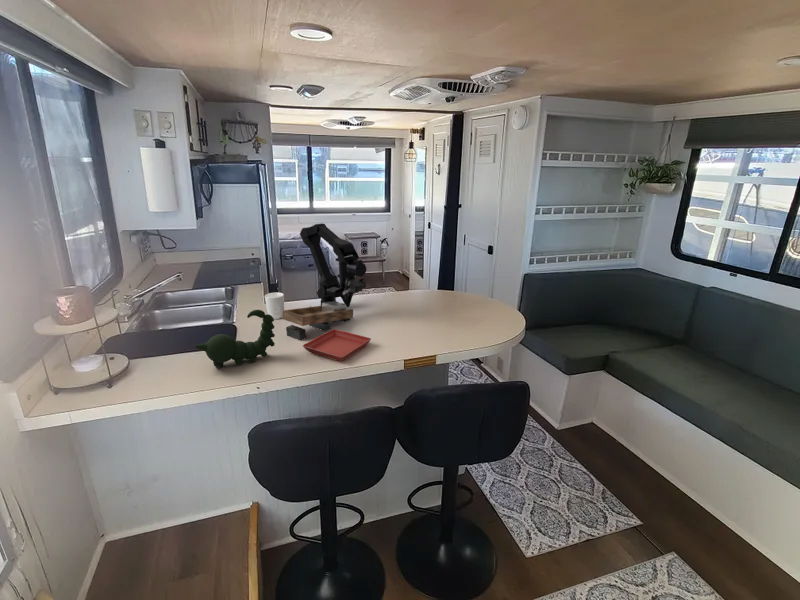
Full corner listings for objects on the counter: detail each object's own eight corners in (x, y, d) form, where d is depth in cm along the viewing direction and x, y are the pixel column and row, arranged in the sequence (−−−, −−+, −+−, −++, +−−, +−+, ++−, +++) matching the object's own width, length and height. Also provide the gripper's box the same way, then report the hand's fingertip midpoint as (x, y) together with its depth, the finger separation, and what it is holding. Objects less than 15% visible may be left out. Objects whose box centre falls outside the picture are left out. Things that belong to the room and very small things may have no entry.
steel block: (333, 310, 182) (334, 301, 182) (345, 313, 178) (346, 304, 177) (321, 311, 177) (322, 302, 176) (333, 315, 173) (333, 305, 172)
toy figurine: (271, 354, 153) (195, 364, 142) (270, 304, 148) (191, 310, 137) (277, 364, 146) (197, 375, 134) (276, 312, 140) (193, 319, 129)
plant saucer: (372, 345, 156) (372, 337, 155) (342, 365, 141) (341, 356, 140) (334, 336, 165) (333, 328, 164) (302, 354, 150) (301, 345, 149)
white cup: (281, 320, 181) (278, 298, 178) (264, 319, 182) (261, 297, 179) (288, 313, 188) (286, 292, 185) (272, 313, 190) (269, 292, 186)
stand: (335, 315, 186) (335, 307, 185) (351, 320, 180) (351, 312, 179) (285, 334, 166) (284, 326, 165) (301, 341, 160) (300, 332, 159)
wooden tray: (332, 312, 186) (333, 303, 185) (353, 319, 178) (354, 309, 178) (281, 320, 165) (282, 309, 164) (303, 327, 157) (303, 316, 156)
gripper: (343, 280, 167) (345, 317, 172) (374, 270, 181) (375, 304, 186) (324, 275, 174) (327, 311, 179) (355, 266, 187) (357, 300, 192)
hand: (347, 306), depth 184 cm, fingers closed
